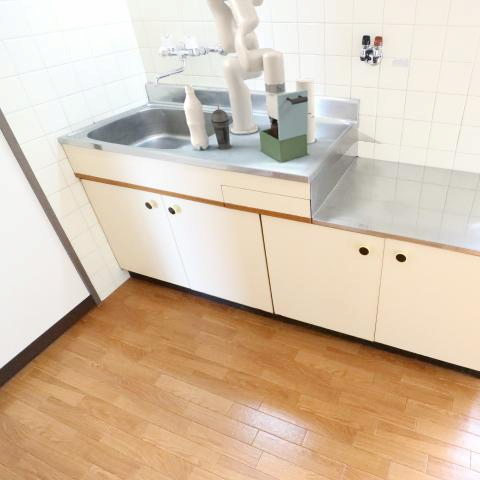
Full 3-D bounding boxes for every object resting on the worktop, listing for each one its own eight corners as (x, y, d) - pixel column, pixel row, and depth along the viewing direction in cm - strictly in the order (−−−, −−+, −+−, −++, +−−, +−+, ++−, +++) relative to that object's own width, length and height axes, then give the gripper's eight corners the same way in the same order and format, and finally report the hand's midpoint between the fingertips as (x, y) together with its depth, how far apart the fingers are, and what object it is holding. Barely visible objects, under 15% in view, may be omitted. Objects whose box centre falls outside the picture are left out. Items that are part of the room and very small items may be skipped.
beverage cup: (231, 143, 162) (224, 95, 151) (234, 148, 157) (227, 99, 145) (214, 145, 160) (206, 97, 149) (217, 151, 155) (208, 101, 143)
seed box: (261, 150, 155) (259, 130, 150) (286, 143, 161) (285, 124, 156) (281, 162, 144) (279, 141, 140) (307, 154, 150) (306, 134, 146)
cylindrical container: (296, 139, 165) (292, 79, 150) (310, 136, 167) (308, 77, 153) (303, 144, 160) (300, 82, 145) (317, 141, 162) (316, 80, 148)
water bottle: (207, 150, 155) (195, 87, 141) (190, 151, 156) (176, 88, 141) (211, 144, 161) (200, 83, 147) (195, 144, 161) (182, 83, 147)
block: (271, 135, 151) (270, 124, 149) (280, 133, 154) (280, 122, 151) (277, 138, 148) (276, 127, 146) (286, 136, 151) (286, 125, 148)
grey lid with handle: (276, 95, 129) (285, 99, 126) (306, 89, 135) (315, 93, 132) (278, 140, 140) (286, 145, 136) (306, 132, 146) (314, 137, 142)
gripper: (296, 90, 137) (298, 139, 147) (272, 82, 148) (276, 128, 158) (278, 93, 133) (282, 143, 143) (255, 85, 144) (260, 131, 155)
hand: (279, 134), depth 151 cm, fingers closed on block, 4 cm apart
